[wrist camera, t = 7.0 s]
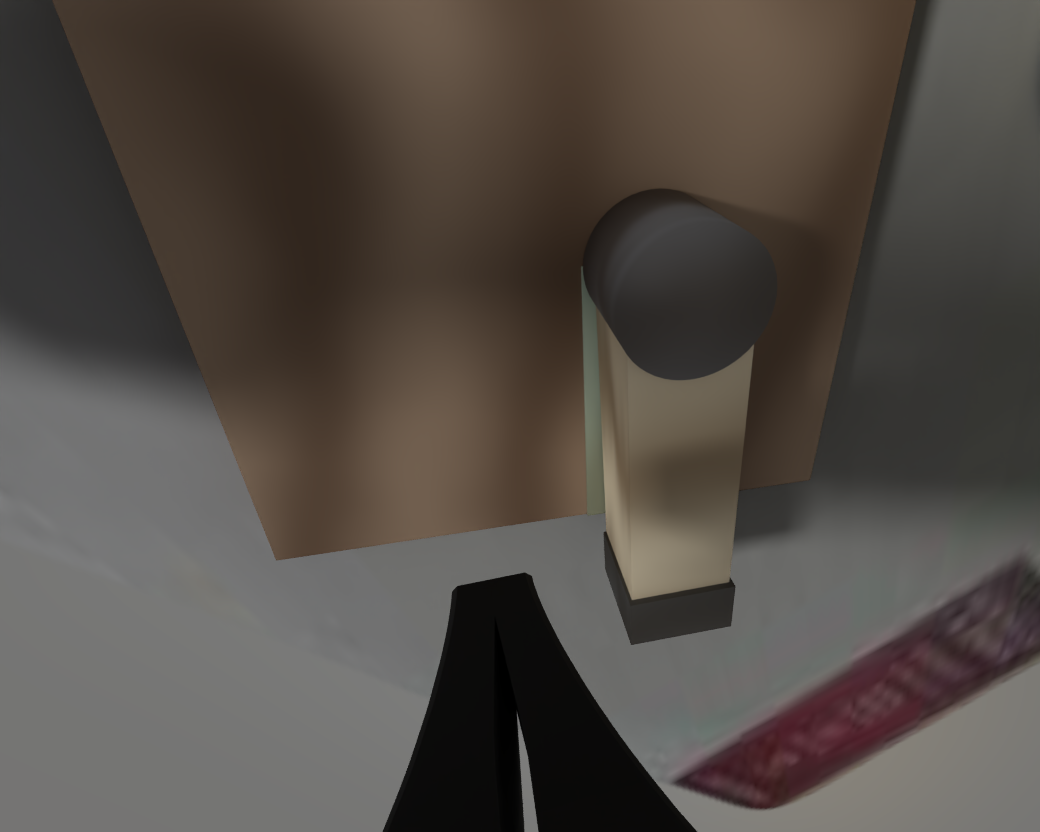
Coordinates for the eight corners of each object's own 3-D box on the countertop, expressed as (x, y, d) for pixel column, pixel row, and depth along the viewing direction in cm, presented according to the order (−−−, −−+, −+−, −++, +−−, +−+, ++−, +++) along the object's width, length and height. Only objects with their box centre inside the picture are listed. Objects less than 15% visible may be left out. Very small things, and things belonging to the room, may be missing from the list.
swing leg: (578, 199, 15) (613, 236, 12) (722, 178, 15) (786, 210, 13) (600, 570, 22) (624, 646, 19) (698, 552, 22) (737, 624, 19)
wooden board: (284, 528, 21) (275, 562, 20) (29, -153, 12) (-22, -177, 10) (788, 454, 23) (811, 481, 21) (916, -212, 13) (973, -239, 12)
